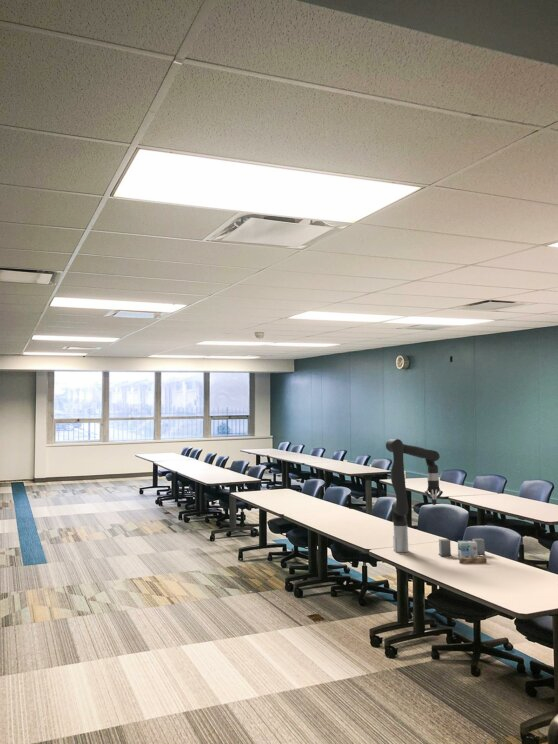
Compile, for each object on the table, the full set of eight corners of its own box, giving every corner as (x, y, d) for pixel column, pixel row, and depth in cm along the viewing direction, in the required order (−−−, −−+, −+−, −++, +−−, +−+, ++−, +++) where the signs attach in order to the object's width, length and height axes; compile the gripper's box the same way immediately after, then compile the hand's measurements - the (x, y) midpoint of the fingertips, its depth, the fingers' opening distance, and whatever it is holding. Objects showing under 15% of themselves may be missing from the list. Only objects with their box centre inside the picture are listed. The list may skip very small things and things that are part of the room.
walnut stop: (460, 563, 369) (460, 558, 370) (459, 562, 372) (459, 557, 372) (486, 563, 370) (486, 558, 370) (485, 562, 372) (485, 557, 372)
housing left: (441, 556, 389) (440, 540, 390) (438, 554, 395) (438, 539, 396) (451, 556, 389) (451, 540, 390) (449, 554, 395) (448, 539, 396)
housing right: (475, 556, 389) (474, 540, 390) (472, 554, 395) (471, 538, 396) (485, 555, 390) (485, 540, 390) (482, 553, 395) (481, 538, 396)
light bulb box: (461, 560, 379) (460, 542, 379) (457, 558, 385) (457, 540, 386) (478, 559, 379) (477, 542, 380) (474, 557, 386) (473, 540, 387)
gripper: (425, 480, 418) (426, 505, 417) (444, 479, 418) (445, 505, 417) (422, 479, 426) (423, 504, 424) (441, 478, 426) (442, 503, 424)
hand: (434, 504), depth 420 cm, fingers closed
